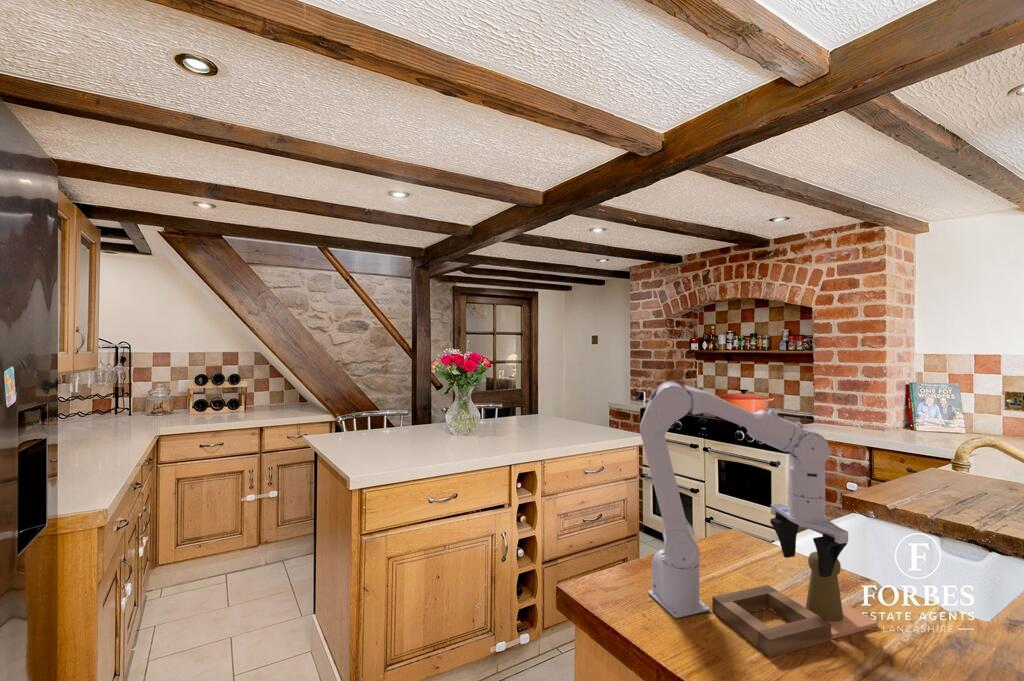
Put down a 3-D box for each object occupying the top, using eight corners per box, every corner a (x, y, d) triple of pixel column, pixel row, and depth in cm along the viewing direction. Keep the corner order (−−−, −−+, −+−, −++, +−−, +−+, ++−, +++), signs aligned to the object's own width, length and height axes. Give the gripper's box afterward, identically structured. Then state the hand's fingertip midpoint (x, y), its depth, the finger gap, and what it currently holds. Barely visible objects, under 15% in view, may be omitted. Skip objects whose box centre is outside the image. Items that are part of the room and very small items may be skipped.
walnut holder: (712, 611, 92) (712, 596, 92) (768, 599, 96) (768, 584, 96) (769, 657, 79) (769, 639, 79) (831, 640, 83) (831, 623, 83)
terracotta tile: (780, 605, 94) (780, 601, 94) (822, 595, 97) (822, 591, 97) (832, 638, 84) (832, 634, 84) (877, 626, 87) (877, 622, 87)
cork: (833, 604, 93) (833, 548, 93) (850, 623, 87) (850, 563, 87) (800, 601, 94) (800, 546, 94) (814, 620, 88) (813, 561, 88)
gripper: (861, 504, 83) (861, 581, 83) (790, 479, 97) (789, 546, 97) (831, 509, 81) (830, 588, 81) (762, 483, 95) (762, 551, 95)
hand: (806, 565), depth 89 cm, fingers open, 7 cm apart
